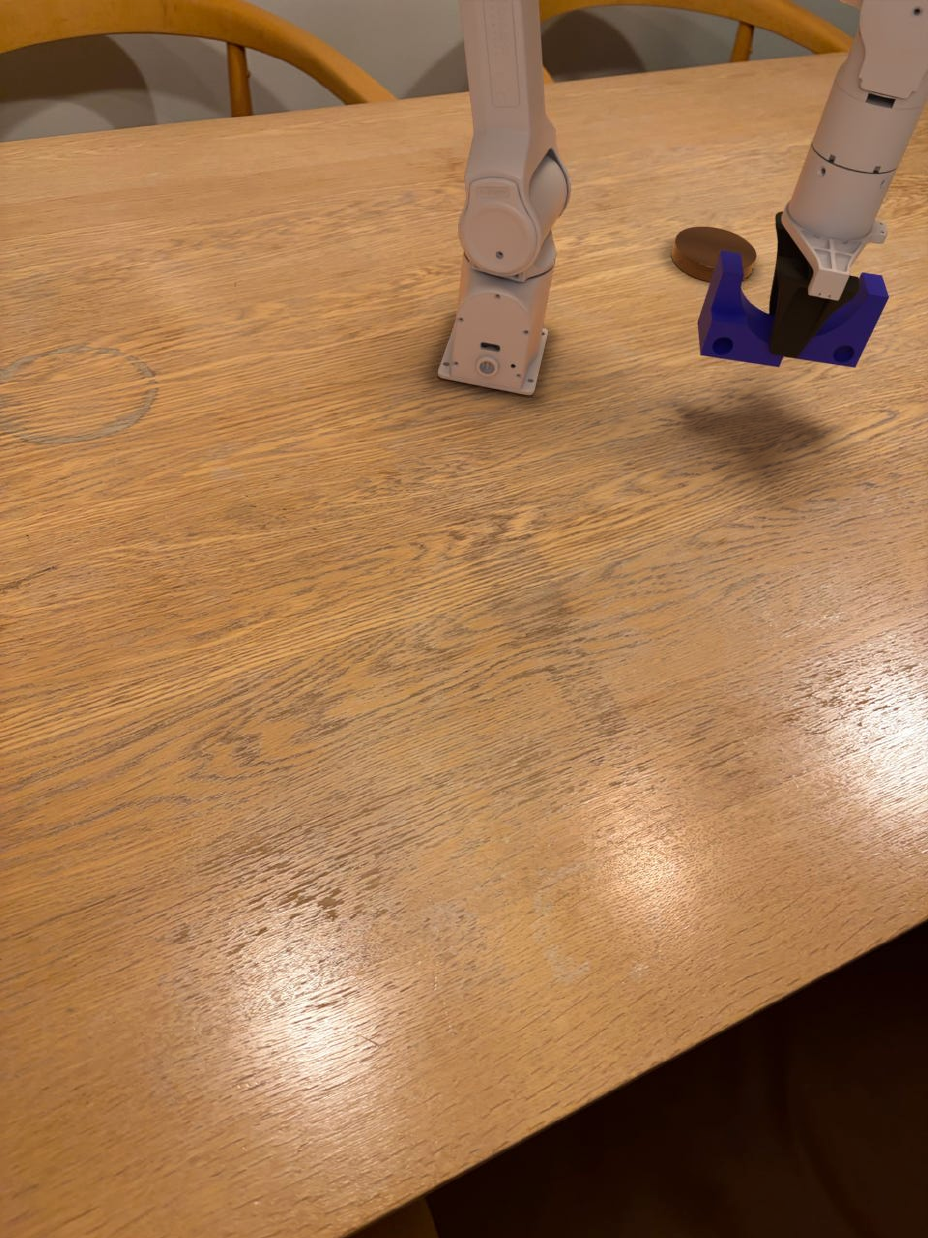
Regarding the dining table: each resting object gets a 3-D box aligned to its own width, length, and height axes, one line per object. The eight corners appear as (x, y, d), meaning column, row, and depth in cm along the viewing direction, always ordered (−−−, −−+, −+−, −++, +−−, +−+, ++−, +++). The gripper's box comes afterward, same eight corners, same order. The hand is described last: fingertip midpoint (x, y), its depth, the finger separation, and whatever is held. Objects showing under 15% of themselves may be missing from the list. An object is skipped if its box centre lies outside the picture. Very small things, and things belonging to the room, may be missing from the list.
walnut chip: (751, 290, 94) (757, 275, 93) (669, 274, 95) (673, 259, 94) (751, 248, 100) (756, 234, 98) (673, 234, 100) (676, 219, 99)
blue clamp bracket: (700, 355, 74) (724, 282, 69) (697, 321, 77) (720, 250, 72) (858, 379, 74) (892, 308, 69) (849, 345, 77) (882, 275, 72)
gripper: (929, 217, 59) (840, 401, 69) (905, 119, 69) (830, 294, 79) (812, 194, 59) (741, 381, 70) (804, 100, 69) (743, 276, 79)
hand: (782, 334), depth 74 cm, fingers closed on blue clamp bracket, 5 cm apart
